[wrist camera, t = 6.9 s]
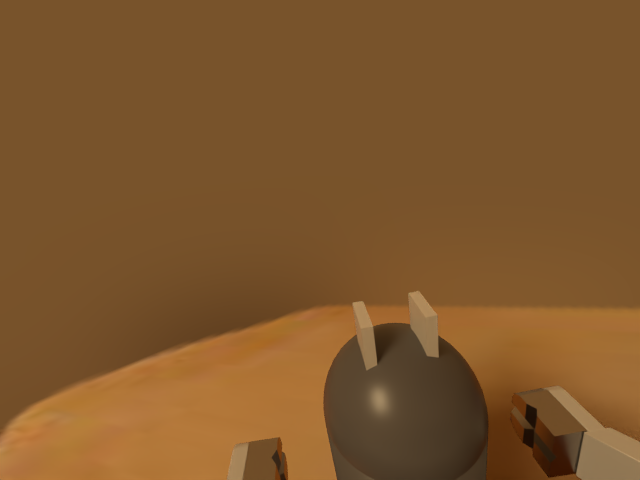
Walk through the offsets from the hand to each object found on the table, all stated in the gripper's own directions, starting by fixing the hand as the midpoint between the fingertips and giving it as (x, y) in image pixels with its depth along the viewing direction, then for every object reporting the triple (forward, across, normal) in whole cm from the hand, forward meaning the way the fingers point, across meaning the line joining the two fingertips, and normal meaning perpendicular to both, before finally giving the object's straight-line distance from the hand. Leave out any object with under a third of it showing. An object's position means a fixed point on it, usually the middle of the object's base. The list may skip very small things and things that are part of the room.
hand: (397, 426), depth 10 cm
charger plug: (-1, 0, +7) cm, 7 cm away
